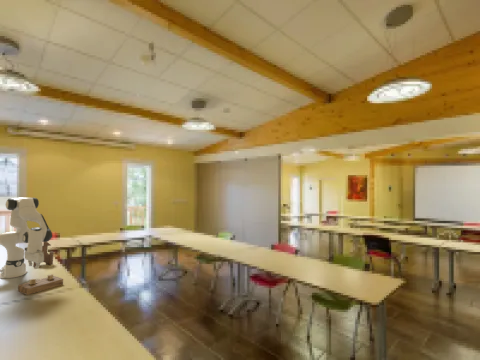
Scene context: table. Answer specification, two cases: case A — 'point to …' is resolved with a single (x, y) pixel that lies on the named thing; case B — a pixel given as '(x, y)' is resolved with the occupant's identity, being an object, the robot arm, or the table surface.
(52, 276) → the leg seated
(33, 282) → the leg
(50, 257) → the wooden toy
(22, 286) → the board
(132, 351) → the table surface
